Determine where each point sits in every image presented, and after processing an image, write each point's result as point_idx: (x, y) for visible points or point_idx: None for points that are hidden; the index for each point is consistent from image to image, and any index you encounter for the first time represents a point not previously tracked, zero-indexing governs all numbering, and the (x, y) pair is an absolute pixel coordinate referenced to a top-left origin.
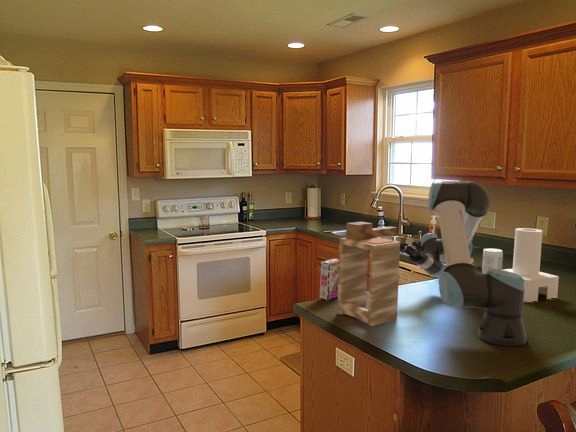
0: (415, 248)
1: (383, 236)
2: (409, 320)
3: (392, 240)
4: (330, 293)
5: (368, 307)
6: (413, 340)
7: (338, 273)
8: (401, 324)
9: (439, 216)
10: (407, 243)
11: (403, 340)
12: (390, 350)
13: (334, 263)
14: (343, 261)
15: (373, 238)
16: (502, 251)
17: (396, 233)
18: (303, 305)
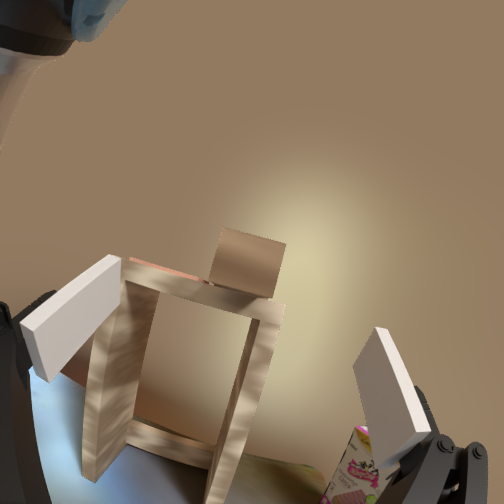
0: (36, 369)
1: (365, 363)
2: (49, 471)
3: (137, 259)
4: (326, 502)
5: (133, 410)
6: (35, 397)
7: (368, 483)
8: (63, 450)
9: (27, 85)
10: (105, 312)
11: (51, 398)
12: (66, 380)
13: (369, 440)
14: (241, 357)
15: (202, 279)
16: None
17: (210, 271)
18: (306, 470)
